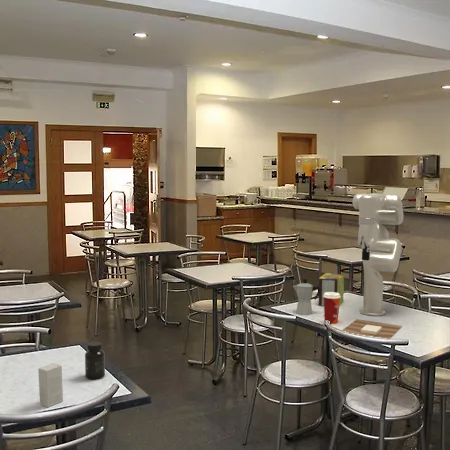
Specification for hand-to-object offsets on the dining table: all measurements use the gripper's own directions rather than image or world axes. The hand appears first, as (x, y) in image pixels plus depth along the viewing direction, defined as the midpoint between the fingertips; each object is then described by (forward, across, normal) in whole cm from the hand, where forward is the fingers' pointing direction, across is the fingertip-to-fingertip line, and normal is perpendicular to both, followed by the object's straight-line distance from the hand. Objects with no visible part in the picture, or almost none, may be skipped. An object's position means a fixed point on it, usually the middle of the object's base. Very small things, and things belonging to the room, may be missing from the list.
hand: (365, 259), depth 267 cm
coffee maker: (+31, -4, -31) cm, 44 cm away
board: (+31, +10, +7) cm, 33 cm away
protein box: (+31, -29, -27) cm, 51 cm away
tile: (+29, +10, +8) cm, 32 cm away
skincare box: (+31, +141, -58) cm, 156 cm away
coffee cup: (+31, +9, -13) cm, 35 cm away
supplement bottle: (+31, +117, -62) cm, 136 cm away
